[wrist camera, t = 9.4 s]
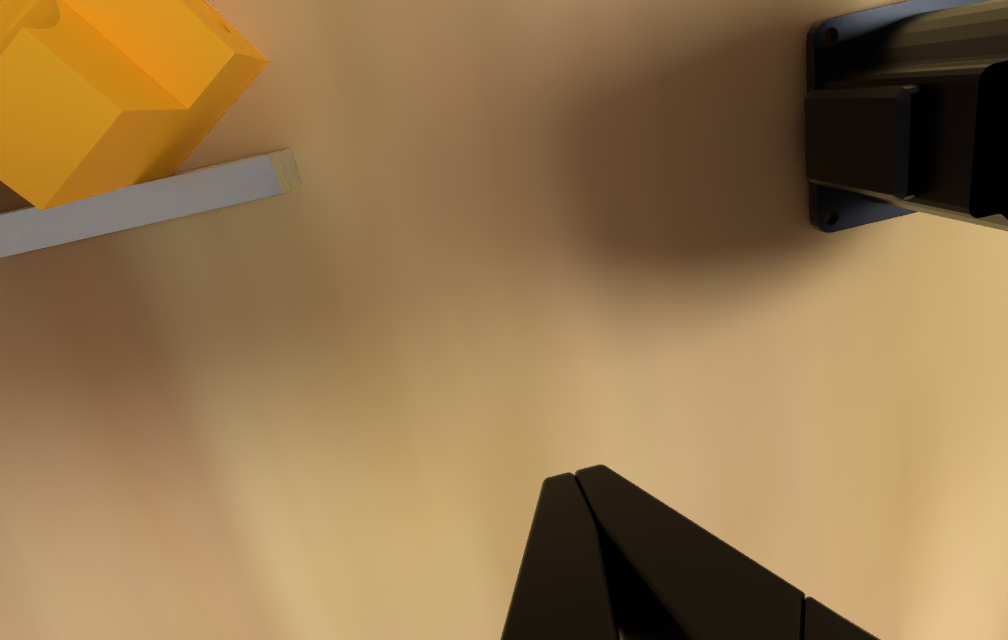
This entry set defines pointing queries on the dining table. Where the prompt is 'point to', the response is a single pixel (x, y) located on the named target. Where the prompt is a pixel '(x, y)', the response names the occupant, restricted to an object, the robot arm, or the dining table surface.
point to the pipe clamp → (111, 91)
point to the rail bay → (149, 202)
